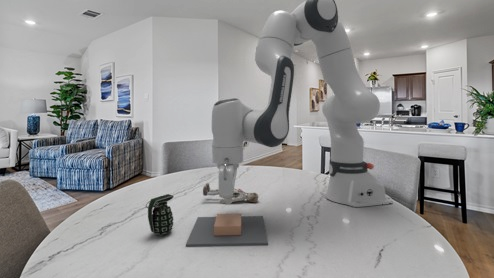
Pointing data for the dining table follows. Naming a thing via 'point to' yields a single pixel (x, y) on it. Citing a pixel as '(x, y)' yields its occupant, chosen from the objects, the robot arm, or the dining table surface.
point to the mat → (250, 235)
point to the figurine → (237, 194)
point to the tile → (227, 224)
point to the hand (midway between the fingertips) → (228, 202)
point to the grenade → (160, 215)
